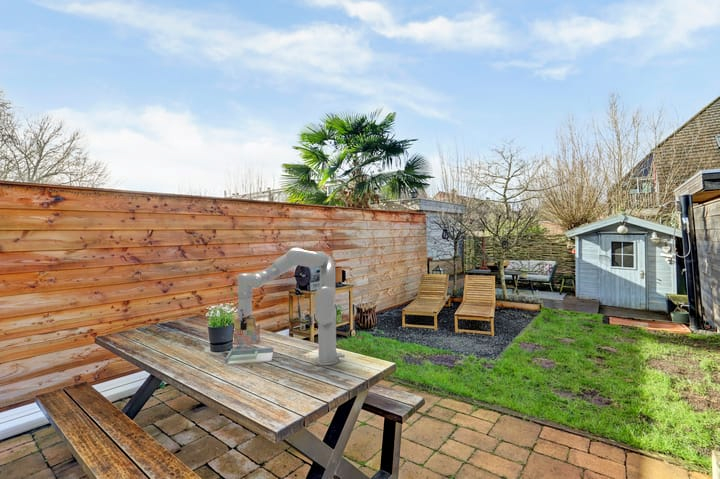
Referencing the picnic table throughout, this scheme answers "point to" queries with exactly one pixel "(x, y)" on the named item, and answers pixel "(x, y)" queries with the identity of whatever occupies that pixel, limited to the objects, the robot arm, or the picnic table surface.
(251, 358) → the arena
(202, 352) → the picnic table surface
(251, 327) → the ochre block
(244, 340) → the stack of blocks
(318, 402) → the picnic table surface
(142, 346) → the picnic table surface
